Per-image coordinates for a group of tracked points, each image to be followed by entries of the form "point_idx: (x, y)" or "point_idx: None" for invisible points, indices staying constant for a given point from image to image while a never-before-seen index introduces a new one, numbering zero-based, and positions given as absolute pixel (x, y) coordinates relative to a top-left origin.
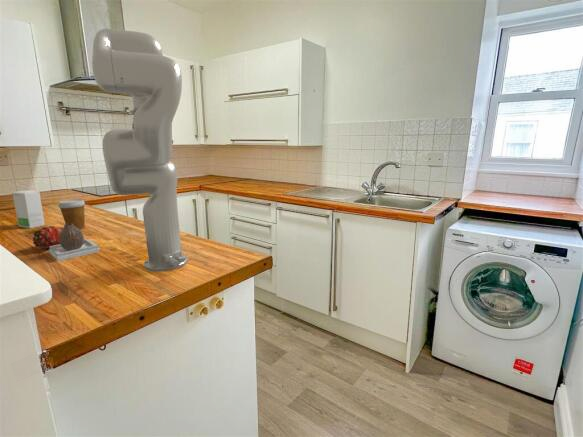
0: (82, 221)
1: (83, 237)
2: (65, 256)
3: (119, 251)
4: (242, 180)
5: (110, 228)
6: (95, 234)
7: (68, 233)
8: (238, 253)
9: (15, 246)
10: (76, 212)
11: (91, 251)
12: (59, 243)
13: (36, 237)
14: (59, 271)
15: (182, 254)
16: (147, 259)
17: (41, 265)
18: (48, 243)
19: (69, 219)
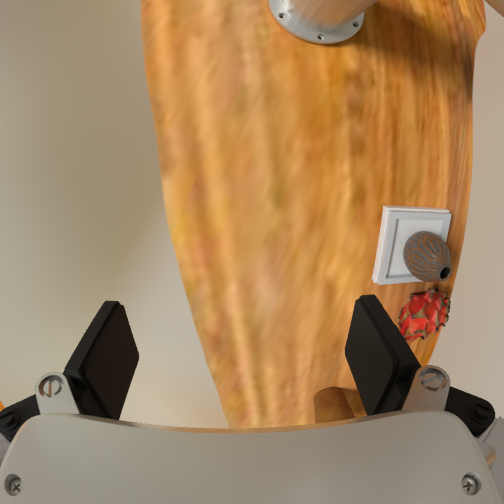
0: (323, 400)
1: (411, 247)
2: (439, 209)
3: (357, 170)
4: None
5: (286, 363)
6: (328, 340)
7: (445, 247)
8: None
9: (430, 344)
10: (338, 413)
11: (400, 207)
12: (415, 295)
13: (449, 305)
14: (459, 149)
15: (271, 3)
16: (347, 37)
17: (462, 208)
18: (434, 290)
19: (346, 404)
